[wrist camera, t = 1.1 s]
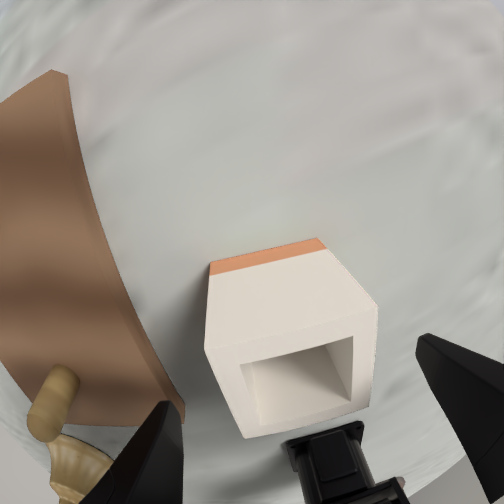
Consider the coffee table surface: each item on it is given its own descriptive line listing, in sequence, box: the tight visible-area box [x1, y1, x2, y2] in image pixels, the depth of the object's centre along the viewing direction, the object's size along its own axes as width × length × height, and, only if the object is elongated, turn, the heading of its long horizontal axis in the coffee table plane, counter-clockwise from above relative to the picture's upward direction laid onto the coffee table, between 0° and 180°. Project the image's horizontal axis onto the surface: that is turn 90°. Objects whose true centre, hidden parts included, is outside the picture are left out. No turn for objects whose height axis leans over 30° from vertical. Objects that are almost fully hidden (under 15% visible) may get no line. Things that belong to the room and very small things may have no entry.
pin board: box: [0, 70, 185, 443], centre depth 10 cm, size 20×12×6 cm, turn 12°
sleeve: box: [204, 238, 378, 439], centre depth 11 cm, size 5×5×6 cm
